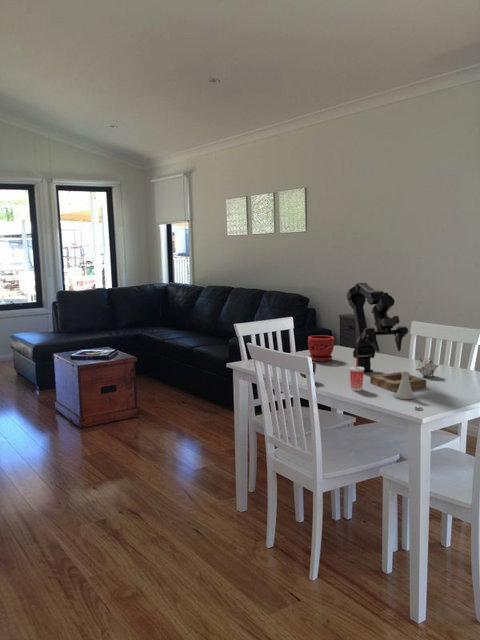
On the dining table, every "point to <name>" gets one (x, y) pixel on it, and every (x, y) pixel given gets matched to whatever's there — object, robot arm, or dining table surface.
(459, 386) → the dining table surface
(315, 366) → the cup
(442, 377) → the dining table surface
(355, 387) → the beverage cup
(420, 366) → the spiky beige ball
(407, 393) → the flask
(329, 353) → the plant pot
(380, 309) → the robot arm
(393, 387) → the base board
